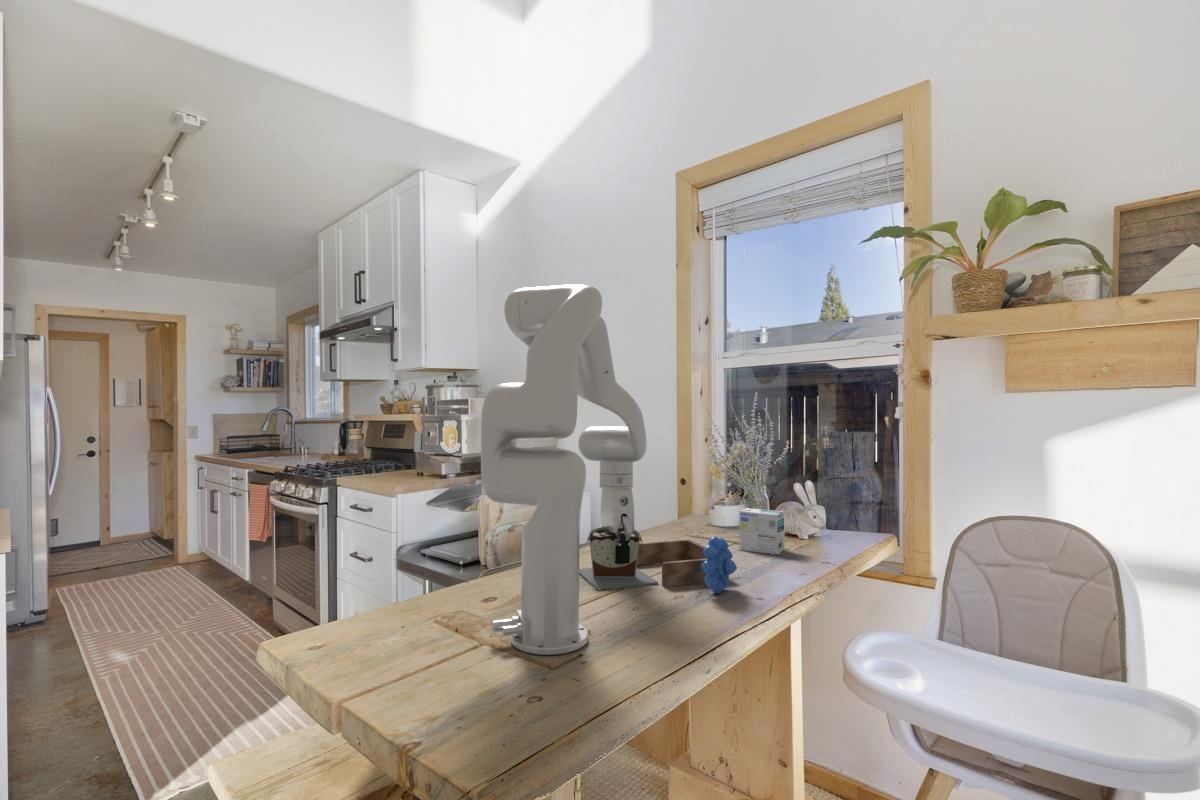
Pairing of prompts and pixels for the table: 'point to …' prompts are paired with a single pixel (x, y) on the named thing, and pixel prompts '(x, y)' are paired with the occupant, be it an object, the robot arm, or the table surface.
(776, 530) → the light bulb box
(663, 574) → the open side box
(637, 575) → the gray mat
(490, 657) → the table surface
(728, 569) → the grapes
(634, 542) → the food container
